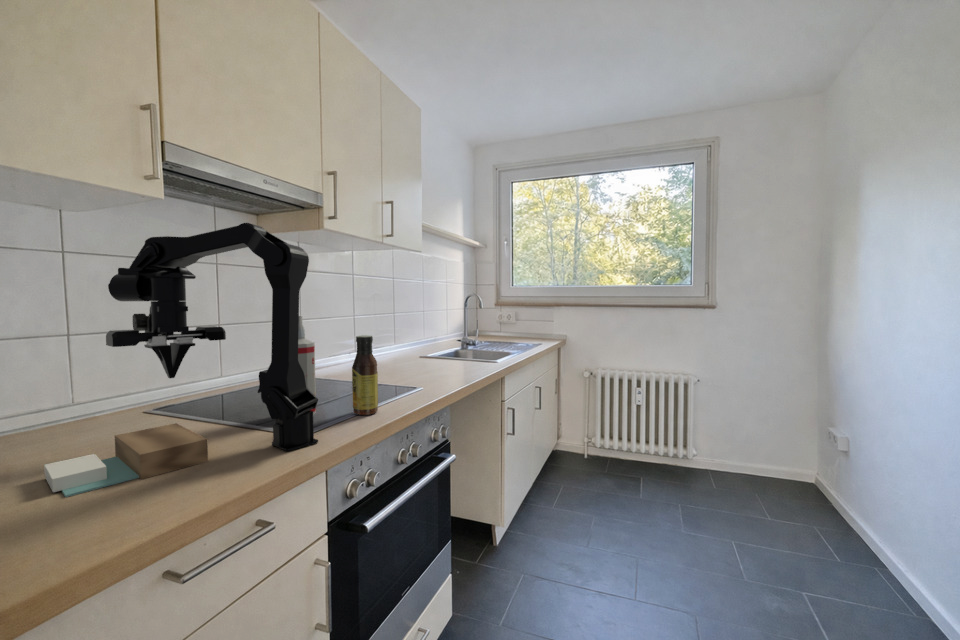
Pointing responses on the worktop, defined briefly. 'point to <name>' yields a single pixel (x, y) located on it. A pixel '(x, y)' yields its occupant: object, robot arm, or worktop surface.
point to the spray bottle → (307, 359)
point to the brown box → (160, 449)
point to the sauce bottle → (365, 378)
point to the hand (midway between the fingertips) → (171, 378)
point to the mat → (115, 475)
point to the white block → (74, 472)
